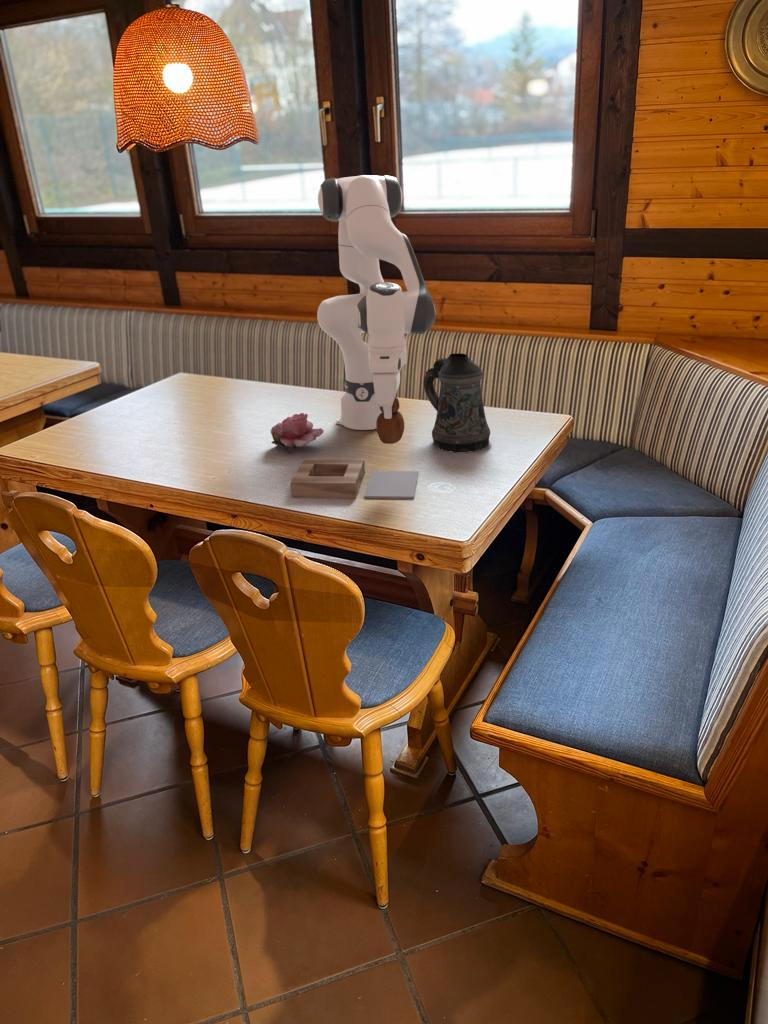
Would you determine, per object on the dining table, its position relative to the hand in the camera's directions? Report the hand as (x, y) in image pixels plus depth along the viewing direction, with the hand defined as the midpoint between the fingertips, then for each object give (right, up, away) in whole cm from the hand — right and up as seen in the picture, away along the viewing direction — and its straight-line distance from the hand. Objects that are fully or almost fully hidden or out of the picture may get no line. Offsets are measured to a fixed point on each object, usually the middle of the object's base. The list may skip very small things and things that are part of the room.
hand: (389, 413), depth 181 cm
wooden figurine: (0, -7, +3) cm, 7 cm away
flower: (-26, -6, +35) cm, 44 cm away
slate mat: (+1, -17, +8) cm, 19 cm away
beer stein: (+19, -4, +34) cm, 39 cm away
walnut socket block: (-15, -17, +10) cm, 25 cm away
